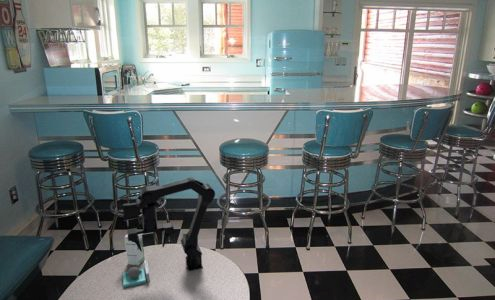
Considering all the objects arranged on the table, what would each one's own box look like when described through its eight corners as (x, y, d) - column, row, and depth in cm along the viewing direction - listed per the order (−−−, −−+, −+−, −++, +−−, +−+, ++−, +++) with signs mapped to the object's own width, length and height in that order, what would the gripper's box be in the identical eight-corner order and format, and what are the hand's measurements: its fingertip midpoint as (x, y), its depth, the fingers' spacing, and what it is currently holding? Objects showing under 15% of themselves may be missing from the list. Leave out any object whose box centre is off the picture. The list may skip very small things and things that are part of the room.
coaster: (144, 270, 156) (144, 268, 155) (146, 282, 148) (145, 279, 147) (123, 275, 153) (122, 272, 152) (123, 287, 144) (123, 284, 144)
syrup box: (138, 265, 159) (136, 237, 156) (127, 264, 161) (124, 236, 157) (144, 258, 165) (142, 231, 161) (133, 257, 166) (130, 230, 162)
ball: (140, 280, 149) (140, 269, 147) (128, 282, 147) (127, 272, 146) (139, 273, 153) (139, 263, 152) (128, 275, 151) (127, 265, 150)
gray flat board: (147, 267, 158) (146, 259, 157) (149, 281, 149) (149, 273, 147) (144, 267, 158) (144, 259, 157) (146, 281, 148) (146, 273, 147)
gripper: (169, 205, 156) (171, 236, 160) (125, 211, 150) (128, 243, 154) (172, 215, 146) (175, 248, 150) (126, 223, 140) (129, 257, 144)
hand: (152, 249), depth 150 cm, fingers open, 9 cm apart
